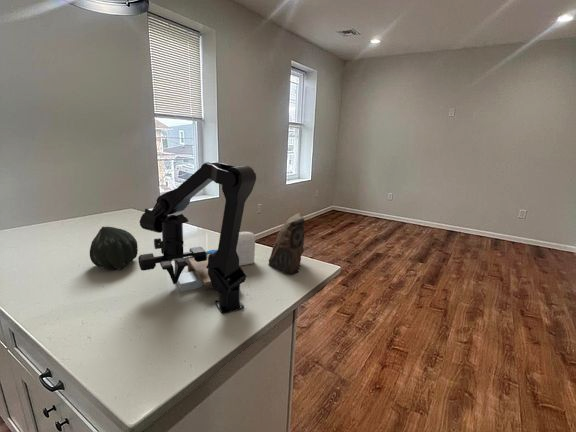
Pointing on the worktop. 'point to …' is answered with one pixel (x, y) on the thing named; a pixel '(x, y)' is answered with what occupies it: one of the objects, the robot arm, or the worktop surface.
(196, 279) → the pale blue eraser
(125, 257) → the squash
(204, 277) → the tan cardboard box
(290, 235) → the owl
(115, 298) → the worktop surface
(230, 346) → the worktop surface
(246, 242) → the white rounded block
